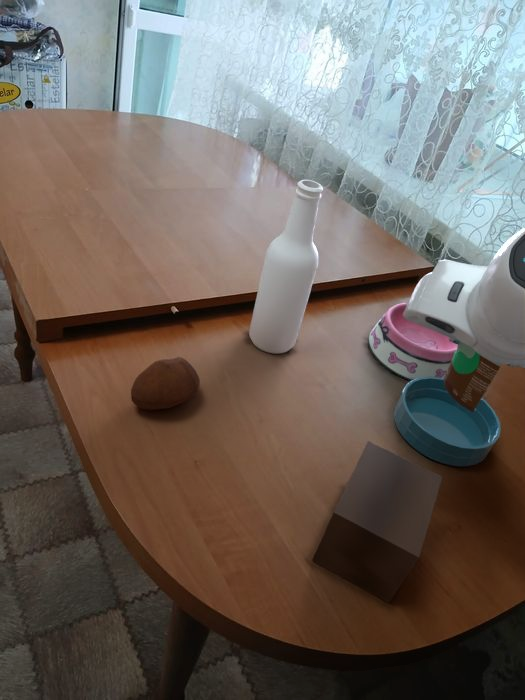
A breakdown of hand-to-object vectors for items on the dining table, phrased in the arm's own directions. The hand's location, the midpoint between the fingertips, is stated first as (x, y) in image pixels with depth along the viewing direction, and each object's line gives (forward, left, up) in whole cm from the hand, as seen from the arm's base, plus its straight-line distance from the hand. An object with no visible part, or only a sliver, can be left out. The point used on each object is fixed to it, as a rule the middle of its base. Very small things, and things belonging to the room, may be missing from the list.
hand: (482, 348), depth 67 cm
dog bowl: (+7, -30, -24) cm, 39 cm away
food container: (+1, +1, -6) cm, 6 cm away
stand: (+3, +16, -24) cm, 29 cm away
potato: (+37, +10, -24) cm, 45 cm away
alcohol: (+31, -15, -24) cm, 42 cm away
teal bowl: (-2, -12, -24) cm, 27 cm away
